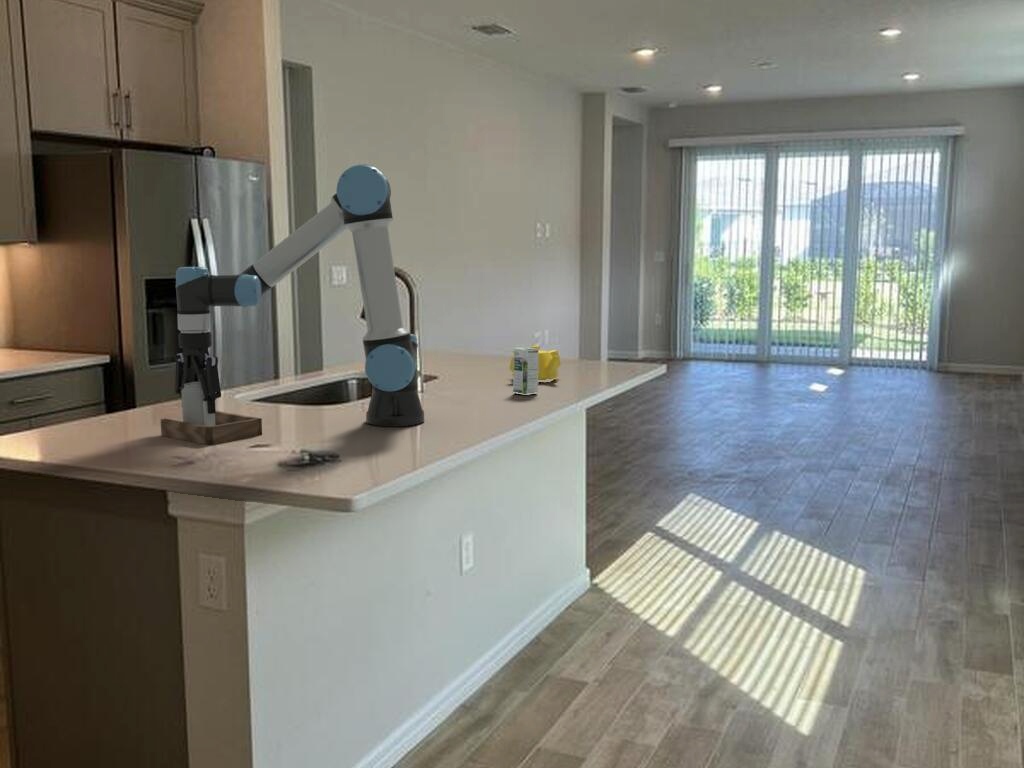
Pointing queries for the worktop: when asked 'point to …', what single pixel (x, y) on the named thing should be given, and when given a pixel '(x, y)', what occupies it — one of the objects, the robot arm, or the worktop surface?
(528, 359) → the syrup box
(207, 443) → the walnut box
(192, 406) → the can
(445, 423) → the worktop surface
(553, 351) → the teapot
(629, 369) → the worktop surface
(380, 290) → the robot arm
